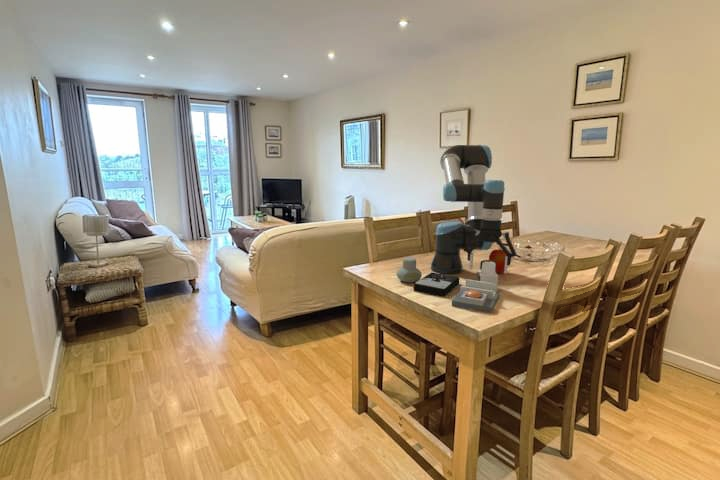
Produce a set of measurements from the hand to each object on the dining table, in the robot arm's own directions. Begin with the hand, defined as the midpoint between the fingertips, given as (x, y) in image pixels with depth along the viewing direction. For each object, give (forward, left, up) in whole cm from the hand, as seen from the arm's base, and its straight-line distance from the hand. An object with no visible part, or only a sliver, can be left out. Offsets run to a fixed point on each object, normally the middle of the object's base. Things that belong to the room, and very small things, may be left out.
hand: (487, 270), depth 154 cm
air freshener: (-32, -5, -8) cm, 34 cm away
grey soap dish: (-1, -16, -8) cm, 18 cm away
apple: (+1, +27, -8) cm, 29 cm away
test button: (-1, -21, -5) cm, 22 cm away
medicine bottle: (0, 0, -8) cm, 8 cm away
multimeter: (-19, -7, -9) cm, 22 cm away
